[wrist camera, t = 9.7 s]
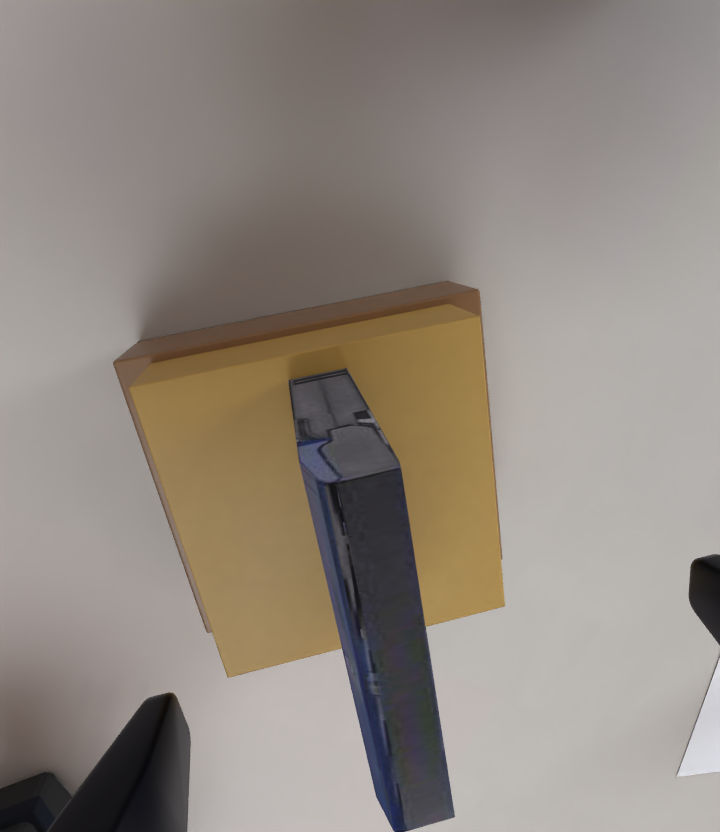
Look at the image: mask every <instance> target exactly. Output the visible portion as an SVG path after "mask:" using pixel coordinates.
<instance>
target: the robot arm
mask: <svg viewBox="0 0 720 832" xmlns="http://www.w3.org/2000/svg"><path fill="white" fill-rule="evenodd" d="M689 601H690V604H691V606H692V608H693V610H694V612H695V613H696V614H697V616H698V617H699V618H700V620H701V621H702V622H703V624H704V625H705V626H706V628H707V629H708V630H709V632H710V633H711V634H712V636H713V637H714V638H715V640H716V641H717V642H718V644H719V645H720V555H718V554H714V555H709V556H705V557H701V558H697V559H695V560H694V561H693V562H692V564H691V569H690V583H689ZM190 746H191V741H190V732H189V727H188V725H187V722H186V720H185V717H184V715H183V712H182V710H181V707H180V704H179V702H178V699H177V697H176V696H175V695H174V693H165V694H161V695H157V696H153V697H150V698H148V699H146V700H145V701H144V702H143V703H142V705H141V706H140V707H139V709H138V710H137V711H136V713H135V714H134V715H133V717H132V718H131V719H130V721H129V722H128V723H127V725H126V726H125V727H124V729H123V730H122V731H121V733H120V734H119V735H118V737H117V738H116V739H115V741H114V742H113V743H112V745H111V746H110V747H109V749H108V750H107V751H106V753H105V754H104V755H103V757H102V758H101V759H100V761H99V762H98V763H97V765H96V766H95V767H94V769H93V770H92V771H91V773H90V774H89V775H88V777H87V778H86V779H85V781H84V782H83V783H82V785H81V786H80V787H79V789H78V790H77V791H76V793H75V794H74V795H73V797H72V798H71V799H70V801H69V802H68V803H67V805H66V806H65V807H64V809H63V810H62V811H61V813H60V814H59V816H58V817H57V818H56V820H55V821H54V822H53V824H52V825H51V826H50V828H49V829H48V830H47V832H187V823H188V797H189V771H190Z"/></svg>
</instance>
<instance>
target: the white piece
mask: <svg viewBox="0 0 720 832" xmlns="http://www.w3.org/2000/svg"><path fill="white" fill-rule="evenodd" d="M712 772H720V659H719V662H718V664H717V667H716V670H715V673H714V675H713V678H712V681H711V684H710V686H709V689H708V692H707V695H706V697H705V700H704V703H703V706H702V708H701V711H700V714H699V717H698V720H697V722H696V725H695V728H694V731H693V733H692V736H691V739H690V742H689V744H688V747H687V750H686V753H685V755H684V758H683V761H682V764H681V766H680V769H679V772H678V775H677V777H679V776H687V775H695V774H704V773H712Z"/></svg>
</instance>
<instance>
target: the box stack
mask: <svg viewBox="0 0 720 832" xmlns="http://www.w3.org/2000/svg"><path fill="white" fill-rule="evenodd" d="M113 365H114V368H115V371H116V373H117V376H118V379H119V382H120V385H121V388H122V391H123V394H124V396H125V399H126V402H127V405H128V408H129V411H130V414H131V416H132V419H133V422H134V425H135V428H136V431H137V434H138V437H139V439H140V442H141V445H142V448H143V451H144V454H145V457H146V460H147V462H148V465H149V468H150V471H151V474H152V477H153V480H154V483H155V485H156V488H157V491H158V494H159V497H160V500H161V503H162V505H163V508H164V511H165V514H166V517H167V520H168V523H169V526H170V528H171V531H172V534H173V537H174V540H175V543H176V546H177V549H178V551H179V554H180V557H181V560H182V563H183V566H184V569H185V572H186V574H187V577H188V580H189V583H190V586H191V589H192V592H193V595H194V597H195V600H196V603H197V606H198V609H199V612H200V615H201V617H202V620H203V623H204V626H205V629H206V631H207V633H210V632H212V633H213V636H214V639H215V642H216V645H217V648H218V650H219V653H220V656H221V659H222V662H223V665H224V668H225V671H226V674H227V676H228V677H233V676H236V675H240V674H244V673H248V672H252V671H256V670H260V669H264V668H267V667H271V666H275V665H279V664H283V663H287V662H291V661H295V660H298V659H302V658H306V657H310V656H314V655H318V654H322V653H326V652H329V651H333V650H337V649H341V648H342V646H341V641H340V637H339V633H338V628H337V624H336V620H335V615H334V611H333V607H332V602H331V598H330V594H329V589H328V585H327V581H326V576H325V572H324V568H323V563H322V559H321V555H320V550H319V546H318V542H317V537H316V533H315V529H314V524H313V520H312V516H311V511H310V507H309V503H308V498H307V494H306V490H305V485H304V481H303V477H302V472H301V468H300V464H299V458H298V450H297V443H296V436H295V428H294V421H293V413H292V406H291V399H290V391H289V384H288V380H291V379H296V378H300V377H305V376H310V375H315V374H320V373H325V372H330V371H334V370H339V369H344V368H347V369H348V371H349V373H350V374H351V376H352V378H353V380H354V382H355V383H356V385H357V387H358V389H359V390H360V392H361V394H362V396H363V398H364V399H365V401H366V403H367V405H368V406H369V408H370V410H371V412H372V414H373V415H374V417H375V419H376V421H377V422H378V424H379V426H380V428H381V430H382V431H383V433H384V435H385V437H386V439H387V440H388V442H389V444H390V446H391V447H392V449H393V451H394V453H395V455H396V456H397V458H398V460H399V462H400V465H401V470H402V477H403V483H404V490H405V496H406V503H407V509H408V516H409V522H410V529H411V535H412V542H413V548H414V555H415V561H416V568H417V574H418V581H419V587H420V594H421V600H422V607H423V613H424V620H425V626H430V625H434V624H438V623H442V622H446V621H450V620H454V619H457V618H461V617H465V616H469V615H473V614H477V613H481V612H485V611H488V610H492V609H496V608H500V607H504V606H505V601H504V589H503V578H502V566H501V560H502V549H501V537H500V526H499V514H498V502H497V490H496V479H495V467H494V455H493V443H492V432H491V420H490V408H489V396H488V385H487V373H486V361H485V349H484V338H483V326H482V314H481V302H480V291H479V290H478V289H475V288H471V287H467V286H464V285H460V284H457V283H453V282H449V281H445V282H440V283H435V284H430V285H424V286H419V287H414V288H409V289H404V290H399V291H394V292H389V293H384V294H378V295H373V296H368V297H363V298H358V299H353V300H348V301H343V302H338V303H332V304H327V305H322V306H317V307H312V308H307V309H302V310H297V311H291V312H286V313H281V314H276V315H271V316H266V317H261V318H256V319H251V320H245V321H240V322H235V323H230V324H225V325H220V326H215V327H210V328H204V329H199V330H194V331H189V332H184V333H179V334H174V335H169V336H164V337H158V338H153V339H148V340H143V341H139V342H137V343H136V344H135V345H133V346H132V347H131V348H130V349H129V350H127V351H126V352H125V353H124V354H123V355H121V356H120V357H119V358H118V359H116V360H115V361H114V362H113Z"/></svg>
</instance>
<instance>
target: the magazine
mask: <svg viewBox="0 0 720 832" xmlns="http://www.w3.org/2000/svg"><path fill="white" fill-rule="evenodd" d="M71 798H72V796H71V795H70V794H69V793H68V792H67V790H66V789H65V788H64V787H63V786H62V785H61V783H60V782H59V781H58V780H57V779H56V777H55V776H54V775H53V774H51V773H42V774H40V775H37V776H34V777H32V778H29V779H27V780H24V781H22V782H19V783H17V784H14V785H11V786H9V787H6V788H4V789H1V790H0V832H47V830H48V829H49V828H50V826H51V825H52V824H53V822H54V821H55V820H56V818H57V817H58V816H59V814H60V813H61V811H62V810H63V809H64V807H65V806H66V805H67V803H68V802H69V801H70V799H71Z"/></svg>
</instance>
